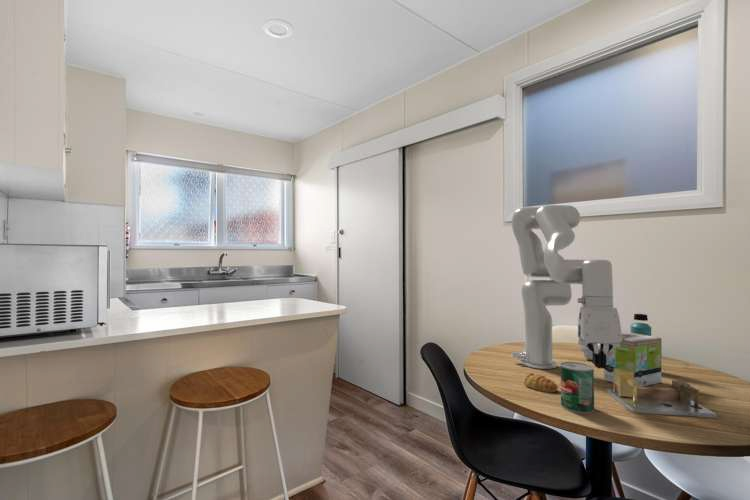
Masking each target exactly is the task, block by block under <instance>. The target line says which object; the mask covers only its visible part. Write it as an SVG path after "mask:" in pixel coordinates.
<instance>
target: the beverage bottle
mask: <svg viewBox="0 0 750 500" xmlns="http://www.w3.org/2000/svg"><path fill="white" fill-rule="evenodd" d="M648 318H649V317H648V315H647V314H646V313H644V314H643V313H634V314H633V320H634V321H644V322H645V321H646V322H647V321H648V320H649V319H648ZM644 322H633V323H632V324H630V333H636V334H641V335H647V336H652V326H650V324H648V323H644Z"/></svg>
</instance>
